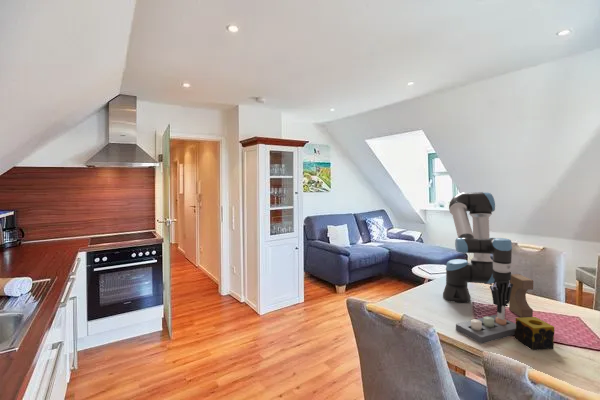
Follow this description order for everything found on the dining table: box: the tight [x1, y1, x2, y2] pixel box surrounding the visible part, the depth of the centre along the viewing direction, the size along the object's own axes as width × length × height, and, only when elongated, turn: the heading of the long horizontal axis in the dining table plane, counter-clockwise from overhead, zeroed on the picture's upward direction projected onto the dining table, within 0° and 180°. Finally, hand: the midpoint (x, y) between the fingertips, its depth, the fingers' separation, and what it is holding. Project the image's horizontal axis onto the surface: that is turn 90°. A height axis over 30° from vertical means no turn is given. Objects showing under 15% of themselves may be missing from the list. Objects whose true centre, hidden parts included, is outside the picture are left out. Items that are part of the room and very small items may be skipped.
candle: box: [513, 316, 555, 351], centre depth 137 cm, size 10×10×10 cm
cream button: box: [471, 318, 482, 332], centre depth 146 cm, size 4×4×4 cm
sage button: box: [483, 315, 494, 329], centre depth 149 cm, size 4×4×4 cm
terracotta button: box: [496, 317, 507, 326], centre depth 152 cm, size 4×4×4 cm
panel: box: [455, 314, 516, 345], centre depth 149 cm, size 14×26×3 cm, turn 110°
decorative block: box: [508, 273, 534, 318], centre depth 167 cm, size 11×6×20 cm, turn 177°
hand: (500, 318), depth 152 cm, fingers closed
